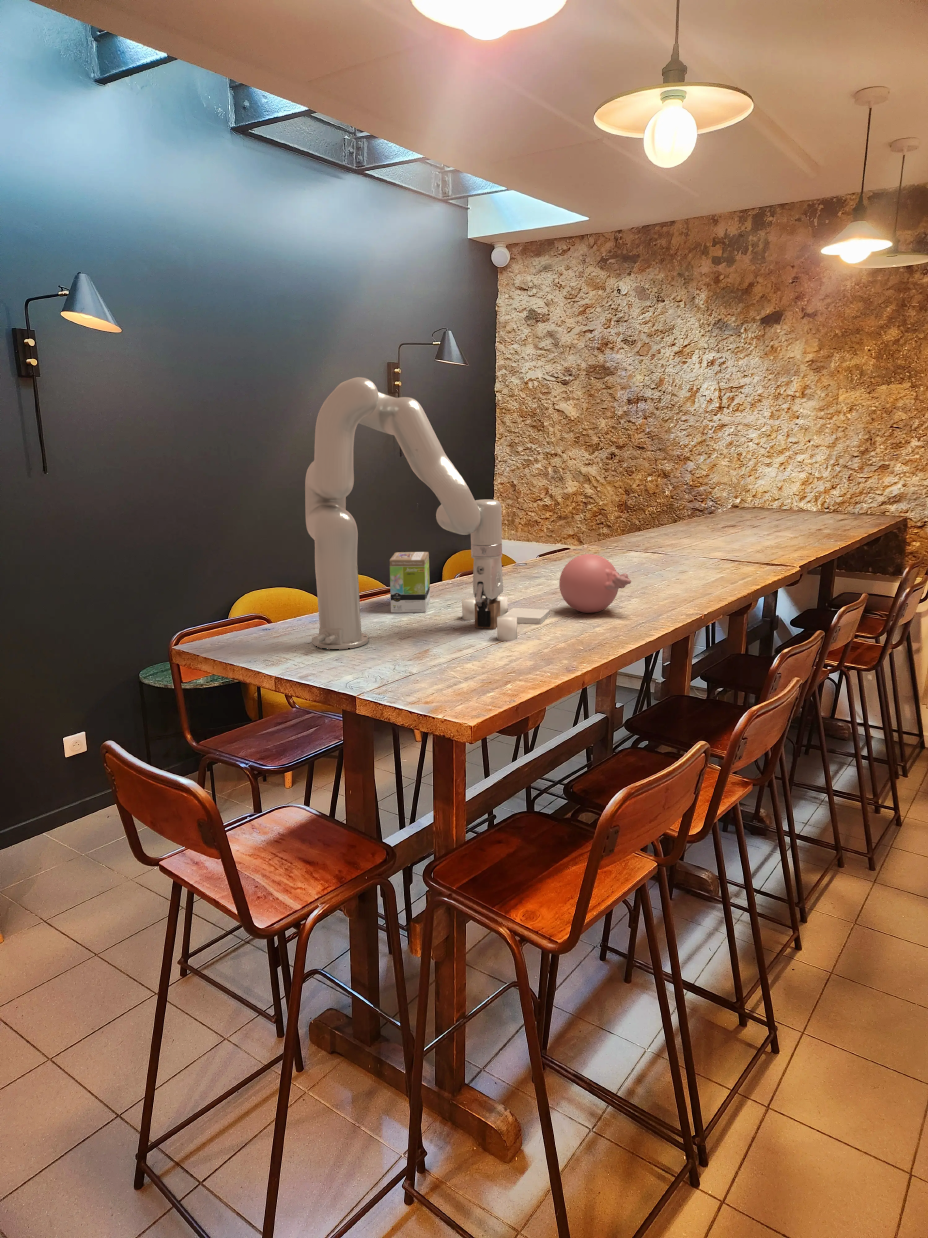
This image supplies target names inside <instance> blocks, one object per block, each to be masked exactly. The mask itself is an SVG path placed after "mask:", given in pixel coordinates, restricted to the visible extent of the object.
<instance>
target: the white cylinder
mask: <svg viewBox="0 0 928 1238" xmlns="http://www.w3.org/2000/svg"><path fill="white" fill-rule="evenodd" d="M497 599H498V601H500V616H503V615H504V614H506V613H507V612H508V611H509V610H508V609H509V603H508V601H509V599H508V596H507V595H504V594H500V595H499V596H498V597H497Z"/></svg>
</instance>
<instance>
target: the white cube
mask: <svg viewBox="0 0 928 1238" xmlns="http://www.w3.org/2000/svg"><path fill="white" fill-rule="evenodd" d="M475 599H476V598H475V597H465V598H462V599H461V616H462V617H461V619H462V620H463V621H469V622H470V621H471V620H473V621H475V603H476V602H475Z"/></svg>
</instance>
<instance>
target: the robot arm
mask: <svg viewBox="0 0 928 1238" xmlns="http://www.w3.org/2000/svg"><path fill="white" fill-rule="evenodd" d="M429 420H430V419H429V418H428V417H427V414H426V413H425V409H423V407H422V405H421V404H420V403H419V401H417V400H416V399H415V398H413V397H408V396H400V397H394V396H391V395H388V394H385V393H383V392H380V391H378V388H377V385H375V383H374V382H373V381H372V380H370V379H368V378H367V377H361V376H359V377H358V376H356V377H353V378H350V379H347V380H345V381H342V382H340V383H338V385H337V386H336V387H335V388H334V390H332V392H331V393H330V394H329V395H328V396H327V397H326V398H325V399H324V401H323V403H322V405H321V407H320V409H319V410H318V413H317V417H316V421H315V422H316V423H315V428H314V429H315V430H314V431H315V432H314V459H313V461H311V463H310V464H309V466H308V468H307V470H306V474H305V481H304V482H305V486H304V491H305V492H304V493H305V497H304V498H305V499H304V501H305V510H304V511H305V525H306V526H305V527H306V530H307V533H308V535H309V536H310V537H311V538H312V539H313V540H314V570H315V571H314V572H315V579H316V580H315V581H316V583H315V584H316V594H317V608H318V609H317V610H318V611H317V612H318V621H319V622H318V624H319V628H318V634H317V635H313V637H311V643H312V644H313V646H314V647H316V646H317V647H316V648H318V647H320V648H319V649H322V648H328V649H327V650H330V649H339V650H349V649H348V648H350V649H355V648H359V647H362V646H365V645H366V644H368V643H369V636H368V635H367V634H366V633H362V622H361V621H362V620H361V619H362V618H361V605H360V604H361V603H360V587H359V586H360V585H359V572H358V571H359V569H358V545H359V544H358V541H359V540H358V537H359V533H358V526H357V523H356V520H355V518H354V517H353V515H352V513H350V512H349V511H348V510H346V506H347V504H346V503H347V499H346V497H348V496H349V495H350V493H351V492H352V490H353V487H354V482H355V474H354V473H355V472H354V470H355V469H354V448H355V447H354V446H355V445H354V444H355V433H356V430H357V426H358V424H360V425H362V426H365V427H368V428H370V429H373V430H375V431H379V432H381V433H385V434H388V435H392V436H394V438H395V439H396V442H397V443H398V445H399V448H400V449H401V451H402V452H403V454H404V457H405V458H406V461H407V463H408V464H409V466H410V469H411V470H412V471H413V473H414V474H415V475H416V477H418V479H419V480H421V482H423V483H424V484H425V485H426V486H427V487H428V488H430V490H431V491H432V493H434V494H435V496H436V498H437V500H438V501H439V502H440V505H439V506H438V507H437V509H436V512H435V516H436V517H435V519H436V522H437V524H438V525H439V526H440V527H441V528H442V529H443V530H446V531H449V532H450V533H454V534H458V535H464V536H465V535H466V536H467V535H470V554H471V555H470V556H471V559H473V567H472V568H473V569H472V580H473V581H472V590H473V591H472V592H473V593H472V594H473V598H476V599H475V602H476V604H477V620H478V626H479V627H490V626H491V617H490V611H489V602H490V600H494V601H498V599H497V597H498V596H499V595H503V592H504V578H503V575H504V574H503V564H502V558H503V536H502V535H503V533H502V532H503V528H502V527H503V525H502V523H503V521H502V517H503V516H502V511H503V509H502V504H501V502H500V501H499V500H497V499H476V500H475V498H474V496H473V494H472V492H471V490H470V488H469V486H468V485H467V482H466V481H465V480H464V478H463V476H462V475H461V474H460V472H459V471H458V470H457V468H456V467H455V465H454V463H452V461H451V460H450V459H449V457H448V456H447V454H446V453H445V450H444V448H443V446H442V444H441V442H440V440H439V439H438V437H437V435H436V433H435V430H434V429H433V427H432V425H431V424H432V423H431V422H430V421H429ZM483 601H486V604H485V602H483Z"/></svg>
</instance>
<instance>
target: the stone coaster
mask: <svg viewBox="0 0 928 1238" xmlns="http://www.w3.org/2000/svg"><path fill="white" fill-rule="evenodd" d="M504 615H511V616H516V617H517V624H531V625H541V624H542V623H544V620H545V619H546V620H547V619H548V618H549V617H550V616H551V609H541V608H525V607H523V608H521V607H513V608H511V609H510V610H508V612H507V613H506V614H504ZM549 615H550V616H549ZM548 616H549V617H548ZM547 617H548V618H547ZM546 620H545V621H546Z"/></svg>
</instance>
